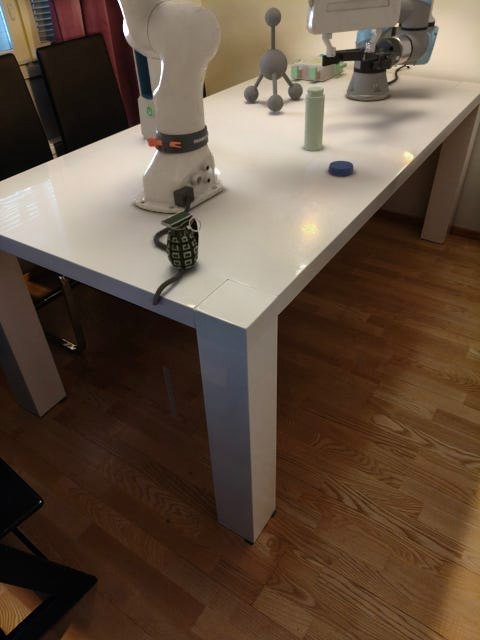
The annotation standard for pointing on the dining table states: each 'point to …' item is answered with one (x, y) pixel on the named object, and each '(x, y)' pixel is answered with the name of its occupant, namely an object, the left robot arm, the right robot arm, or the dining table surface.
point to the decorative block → (315, 69)
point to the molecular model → (273, 68)
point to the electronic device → (147, 91)
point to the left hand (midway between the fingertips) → (350, 54)
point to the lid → (340, 168)
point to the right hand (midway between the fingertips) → (341, 64)
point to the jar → (314, 118)
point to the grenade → (182, 240)
